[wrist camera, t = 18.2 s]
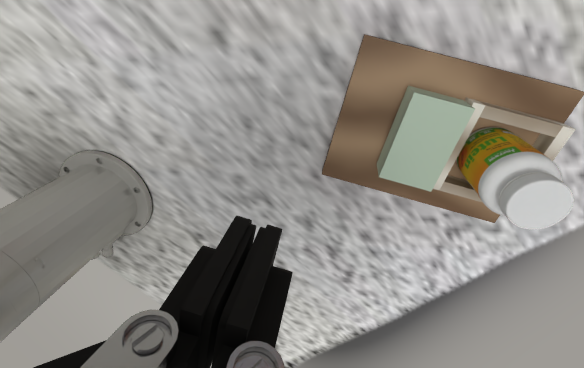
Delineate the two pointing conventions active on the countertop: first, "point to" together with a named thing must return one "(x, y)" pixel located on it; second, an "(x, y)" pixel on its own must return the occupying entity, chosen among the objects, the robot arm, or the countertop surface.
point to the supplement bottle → (514, 178)
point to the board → (451, 82)
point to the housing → (422, 137)
